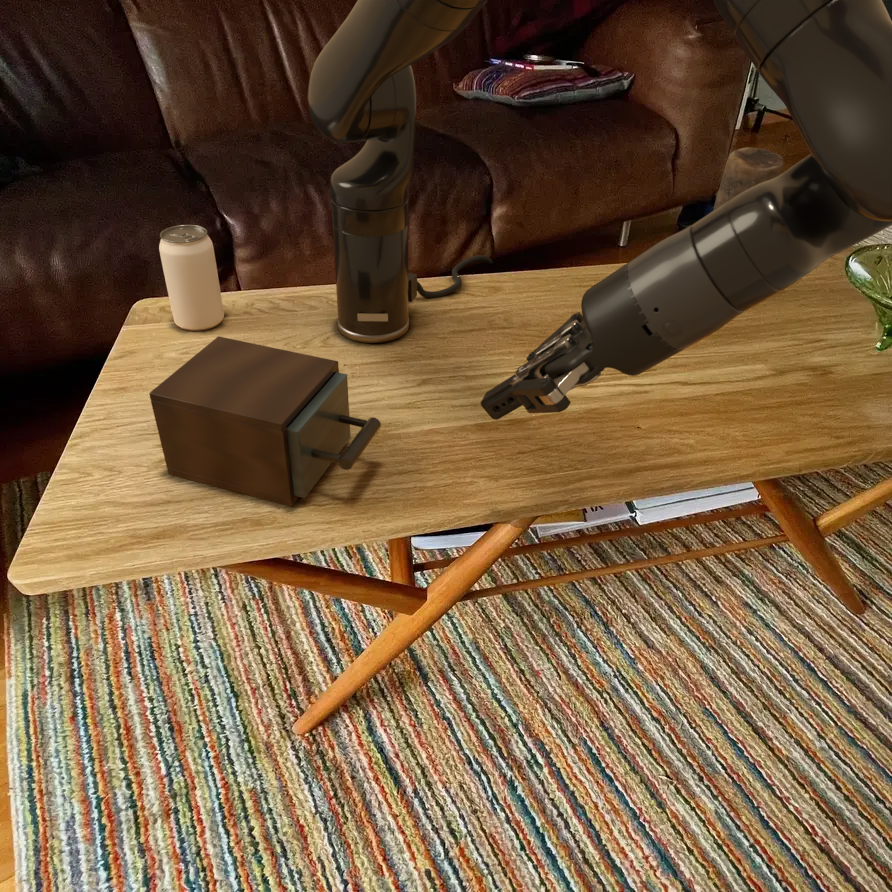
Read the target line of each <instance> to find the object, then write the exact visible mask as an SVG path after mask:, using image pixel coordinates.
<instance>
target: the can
mask: <svg viewBox="0 0 892 892" xmlns="http://www.w3.org/2000/svg"><path fill="white" fill-rule="evenodd" d="M159 238H160V241H159V245H158V251H159V256H160V261H161V266H162V271H163V275H164V279H165V281H164V282H165V286H166V291H167V295H168V300H169V304H170V309H171V314H172V319H173V322H174V324H176V326H177V327H178V328H180V329H182V330H185V331H191V332H199V331H207V330H210V329H213V328H215V327H217V326H218V325H220V324H221V323H222V321H223V320H224V318H225V311H224V305H223V298H222V292H221V291H222V290H221V286H220V280H219V274H218V268H217V267H218V266H217V261H216V255H215V248H214V244H213V241H212V239H211V237H210V236H209V235H208V230H207V228H205V227H203V226H201V225H196V224H177V225H173V226H170V227H167V228H165V229H163V230H162V231H161V232H160V233H159Z"/></svg>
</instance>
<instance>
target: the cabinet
mask: <svg viewBox="0 0 892 892" xmlns="http://www.w3.org/2000/svg"><path fill="white" fill-rule="evenodd" d="M339 369H340V368H339V361H338V360H335V359H329V358H325V357H319V356H316V355H315V356H314V355H310V354H305V353H301V352H295V351H291V350H286V349H281V348H277V347H271V346H267V345H261V344H257V343H252V342H247V341H244V340H239V339H233V338H230V337H229V338H228V337H223V336H216V337H215V338H214V339H213V340H212V341H211V342H209V343H208V344H207V345H205V347H203V348H202V349H201V350H199V351H198V352H197V353H196V354H195V355H194V356H193V357H190V359H188V360H187V362H185V363H184V364H182V365H181V366H180V367H178V369H177V370H175V371H174V372H173V373H172V374H171V375H169V376H167V378H165V379H164V380H163V381H162V382H161V383H159V384H158V385H157V386H156V387H155V388H154V389H152V390H151V391H150V392H149V393H148V395H149V398H150V404H151V407H152V412H153V416H154V420H155V424H156V428H157V432H158V433H157V434H158V436H159V437H158V438H159V441H160V445H161V449H162V454H163V457H164V461H165V465H166V470H167V474H168V475H170V476H174V477H178V478H181V479H185V480H188V481H193V482H197V483H201V484H203V485H204V484H205V485H209V486H212V487H216V488H219V489H223V490H228V491H231V492H235V493H239V494H242V495H246V496H250V497H254V498H257V499H261V500H264V501H268V502H269V501H270V502H273V503H277V504H280V505H284V506H288V507H293V505H294V504H295V503H296V501H297V500H298V499H299V497H298V496H295V495H294V490H293V482H292V473H291V464H290V456H289V447H288V439H287V425H288V424H289V423H290V422H291V421H292V420H293V419H294V417H295V416H296V415H297V414H298V413H299V412H300V411H301V410H302V408H303V407H304V406H305V405H306V404H307V403H308V402H309V401H310V399H311V398H312V397H313V396H314V395H315V394H316V393H317V392H318V390H319V389H320V388H321V387H322V388H323V387H324V386H325V385H326V384H327V382H328V381H329V380H330V379H331V378H332V377H333V376H334V374H335V373H336V372H338V373H340V370H339Z"/></svg>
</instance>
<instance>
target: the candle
mask: <svg viewBox="0 0 892 892" xmlns="http://www.w3.org/2000/svg"><path fill="white" fill-rule="evenodd" d="M784 164H785V161H784V158H783V157H782V156H781V155H780V154H778V153H776V152H774V151H771V150H769V149H766V148H757V147H750V146H747V147H743V148H742V147H741V148H739V149H736V150H733V151H731V152H730V153H729V154H728V158H727V159H726V163H725V165H724V169H723V173H722V176H721V180H720V183H719V188H718V192H717V195H716V198H715V202H714V206H713V209H712V211H714V210H715V209H717V208H718V207H720V206H721V205H723V204H724V203H726V202H727V201H729V200H730V199H732V198H733V197H735V196H736V195H738V194H740V193H741V192H743V191H745V190H747V189H749V188H751V187H753V186H755V185H757V184H759V183H762V182H765V181H767V180H770V179H773V178H775V177H777V176H779V175H780V174H782V171H783V169H784Z"/></svg>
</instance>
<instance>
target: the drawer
mask: <svg viewBox="0 0 892 892" xmlns="http://www.w3.org/2000/svg"><path fill="white" fill-rule="evenodd" d="M348 384H349V382H348V374H346V373H342V372H339V373H338V372H336V373H335V374H334V376H333V377H332V378H331V379H330V380H329V381H328V382H327V384H326V385H325V386H324V387H323V388H322V387H321V388H320V389H319V390H318V392H317V393H316V394H315V395H314V396H313V397H312V398H311V399H310V401H309V402H308V403H307V404H306V405H305V406H304V407H303V408H302V410H301V411H300V412H299V413H298V414H297V415H296V416H295V417H294V419H293V420H292V421H291V422H290V423H289V424H288V425H287V439H288V447H289V456H290V464H291V473H292V482H293V490H294V495H295V496H298V498H303V499H306V498H307V497H308V495H309V494H310V492H311V491H312V490H313V488H314V487H315V485H316V484H317V483H318V482H319V480H320V479H321V478H322V476H323V475H324V474H325V472H326V471H327V470H328V469H329V467H330V466H331V464H332V463H336V464H338V467H340V468H341V469H342V470H344V471H349V470H351V469H352V468H353V466H354V465H355V464H356V462H357V461H358V460H359V458H360V456H361V455H362V454H363V452H364V451H365V450H366V448H367V447H368V445H369V444H370V443H371V441H372V439H373V438H374V437H375V435H376V434H377V432H379V430H380V428H381V427H382V424H381V421H380V419H379V418H377V417H373V416H372V417H369V418H368V419H367V420H366V419H364V418H363V419H362V418H358V417H354V416H350V403H349V402H350V401H349V385H348ZM351 426H354V427H359V428H360V430H359V431H358V433H357V434H356V435H355V437H354V438H353V439H352V441H351V442H350V443H349V445H348V446H347V447H346V449H345V450H344V451H343V453H342V454H339V453H340V452H341V451H342V450H343V448H344V447H345V446H346V444H347V443H348V442H349V440H350V439H351Z"/></svg>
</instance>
